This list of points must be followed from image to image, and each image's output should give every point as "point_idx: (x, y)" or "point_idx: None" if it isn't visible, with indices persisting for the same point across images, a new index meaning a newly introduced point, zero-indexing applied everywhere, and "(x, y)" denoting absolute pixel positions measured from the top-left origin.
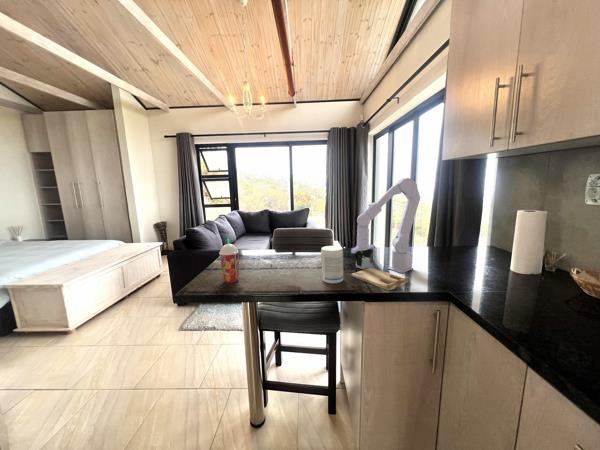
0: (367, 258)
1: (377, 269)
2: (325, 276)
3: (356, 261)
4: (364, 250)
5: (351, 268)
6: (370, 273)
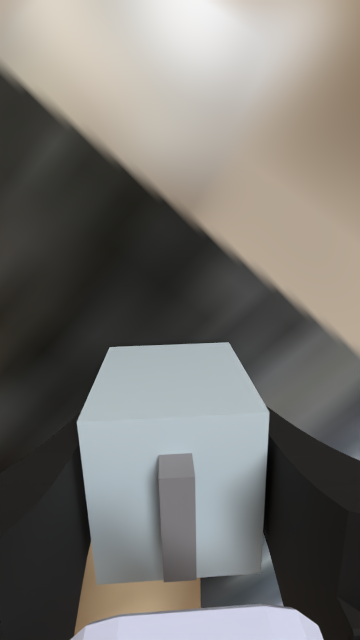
0: (214, 570)
1: (197, 589)
2: None
3: (61, 433)
4: (339, 608)
5: (29, 346)
6: None
